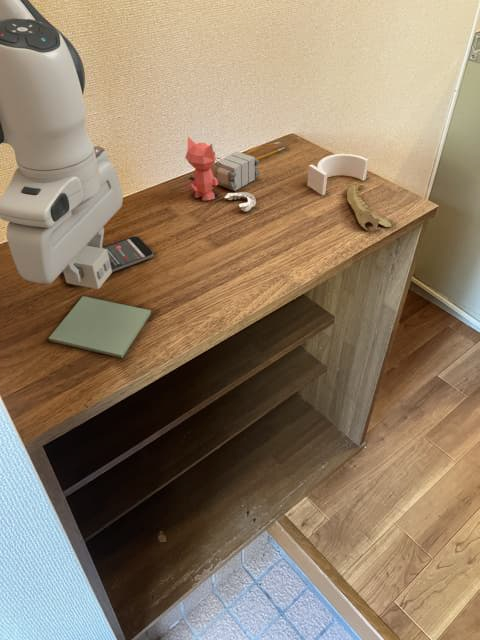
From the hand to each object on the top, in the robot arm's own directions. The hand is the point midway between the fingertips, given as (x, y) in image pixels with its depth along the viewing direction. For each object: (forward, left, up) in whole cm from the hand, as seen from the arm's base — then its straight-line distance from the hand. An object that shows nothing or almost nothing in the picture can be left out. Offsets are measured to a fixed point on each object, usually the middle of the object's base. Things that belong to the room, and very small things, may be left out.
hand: (86, 268), depth 72 cm
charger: (0, 0, -2) cm, 2 cm away
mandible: (+30, +46, -8) cm, 55 cm away
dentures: (+10, +41, -12) cm, 43 cm away
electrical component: (+9, +56, -6) cm, 57 cm away
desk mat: (0, 0, -11) cm, 11 cm away
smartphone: (-7, +15, -11) cm, 20 cm away
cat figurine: (+1, +41, -11) cm, 42 cm away
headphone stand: (+22, +50, -9) cm, 56 cm away
